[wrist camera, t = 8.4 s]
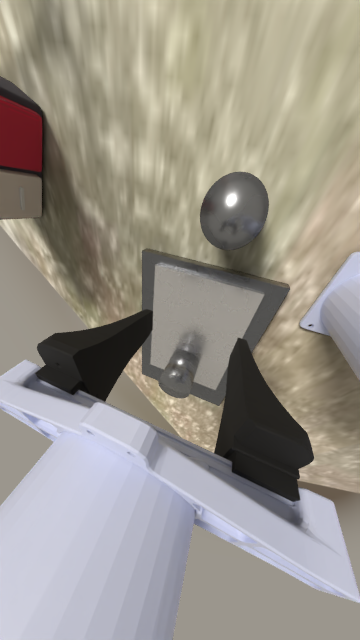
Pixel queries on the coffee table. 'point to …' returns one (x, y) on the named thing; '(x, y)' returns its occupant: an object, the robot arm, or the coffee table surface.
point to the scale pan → (199, 320)
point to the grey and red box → (20, 154)
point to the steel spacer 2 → (234, 210)
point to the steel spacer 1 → (179, 374)
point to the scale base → (271, 288)
